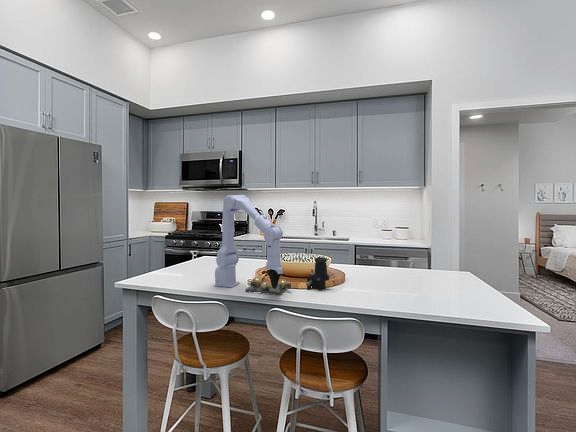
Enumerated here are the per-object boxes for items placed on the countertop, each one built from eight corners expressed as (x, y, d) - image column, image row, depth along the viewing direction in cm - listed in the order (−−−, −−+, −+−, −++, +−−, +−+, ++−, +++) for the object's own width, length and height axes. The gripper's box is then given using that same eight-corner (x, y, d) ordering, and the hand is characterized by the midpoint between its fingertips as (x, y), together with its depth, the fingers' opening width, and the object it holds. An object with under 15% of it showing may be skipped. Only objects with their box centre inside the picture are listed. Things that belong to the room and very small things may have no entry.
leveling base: (245, 291, 147) (245, 287, 147) (256, 284, 157) (256, 280, 157) (280, 295, 141) (280, 291, 141) (289, 287, 151) (289, 283, 151)
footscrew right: (259, 289, 145) (259, 283, 145) (263, 286, 148) (263, 281, 148) (274, 290, 142) (274, 285, 142) (278, 288, 146) (277, 282, 145)
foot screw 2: (277, 286, 149) (277, 280, 148) (283, 284, 151) (283, 279, 151) (287, 290, 143) (287, 284, 143) (293, 288, 145) (293, 282, 145)
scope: (310, 256, 154) (331, 257, 150) (310, 284, 155) (331, 286, 151) (305, 259, 146) (327, 261, 142) (305, 290, 147) (327, 292, 144)
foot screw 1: (255, 282, 155) (254, 277, 155) (262, 283, 154) (261, 278, 154) (248, 287, 148) (248, 281, 148) (255, 287, 147) (255, 282, 147)
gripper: (259, 253, 144) (260, 283, 145) (270, 259, 131) (271, 292, 132) (274, 251, 147) (275, 281, 148) (287, 257, 134) (287, 290, 135)
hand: (274, 286), depth 140 cm, fingers closed
